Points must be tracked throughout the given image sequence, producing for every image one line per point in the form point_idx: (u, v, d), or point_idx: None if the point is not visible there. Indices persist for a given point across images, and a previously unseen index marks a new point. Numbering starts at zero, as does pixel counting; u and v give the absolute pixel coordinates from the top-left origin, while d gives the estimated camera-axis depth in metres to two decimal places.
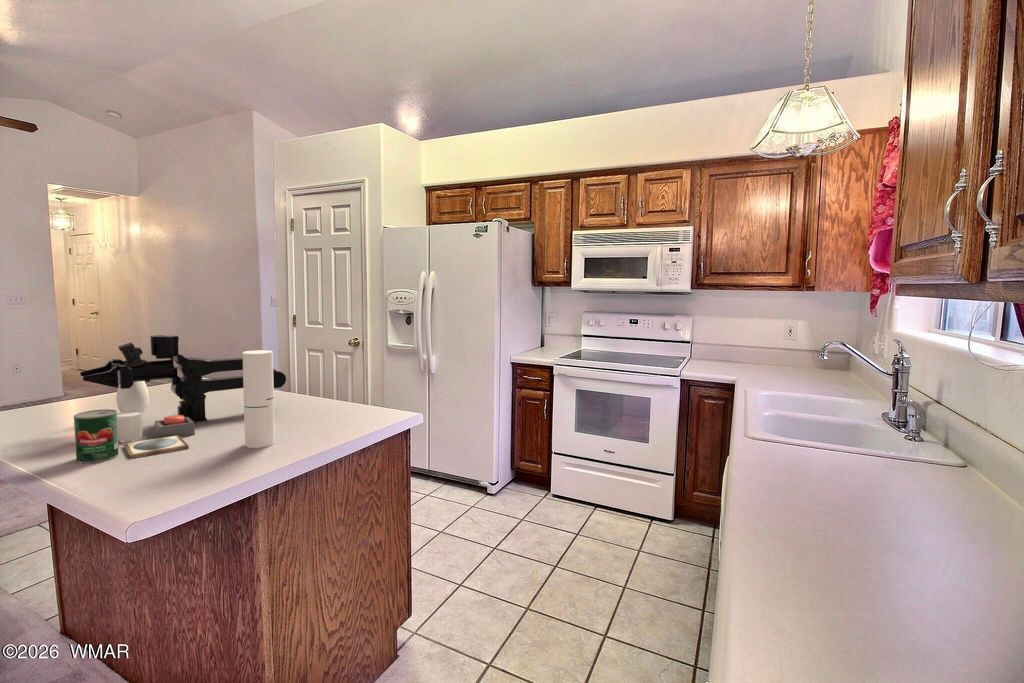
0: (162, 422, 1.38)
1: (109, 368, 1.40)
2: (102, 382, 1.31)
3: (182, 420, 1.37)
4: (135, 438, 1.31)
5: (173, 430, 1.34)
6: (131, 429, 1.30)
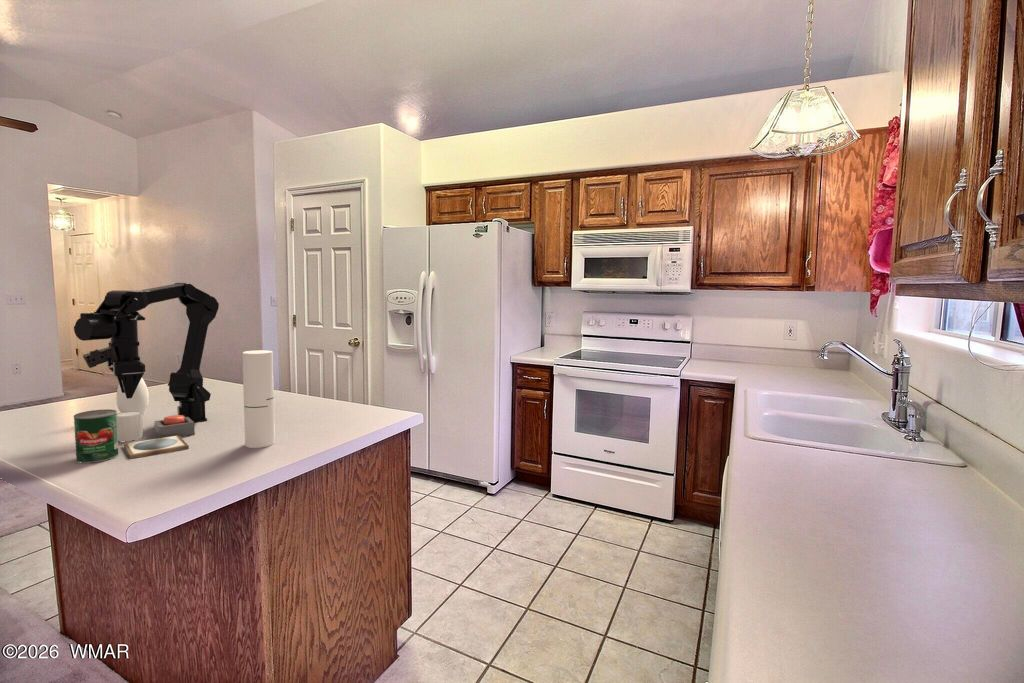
0: (162, 422, 1.38)
1: None
2: (135, 384, 1.27)
3: (182, 420, 1.37)
4: (135, 438, 1.31)
5: (173, 430, 1.34)
6: (131, 429, 1.30)
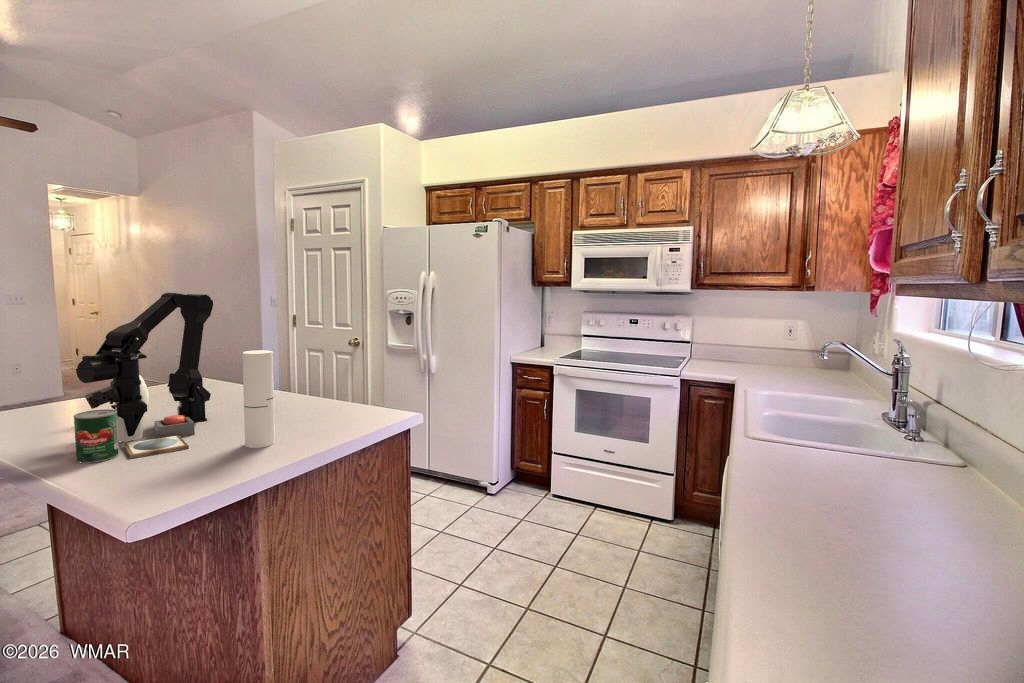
0: (162, 422, 1.38)
1: None
2: (136, 422, 1.29)
3: (182, 420, 1.37)
4: (135, 438, 1.31)
5: (173, 430, 1.34)
6: None
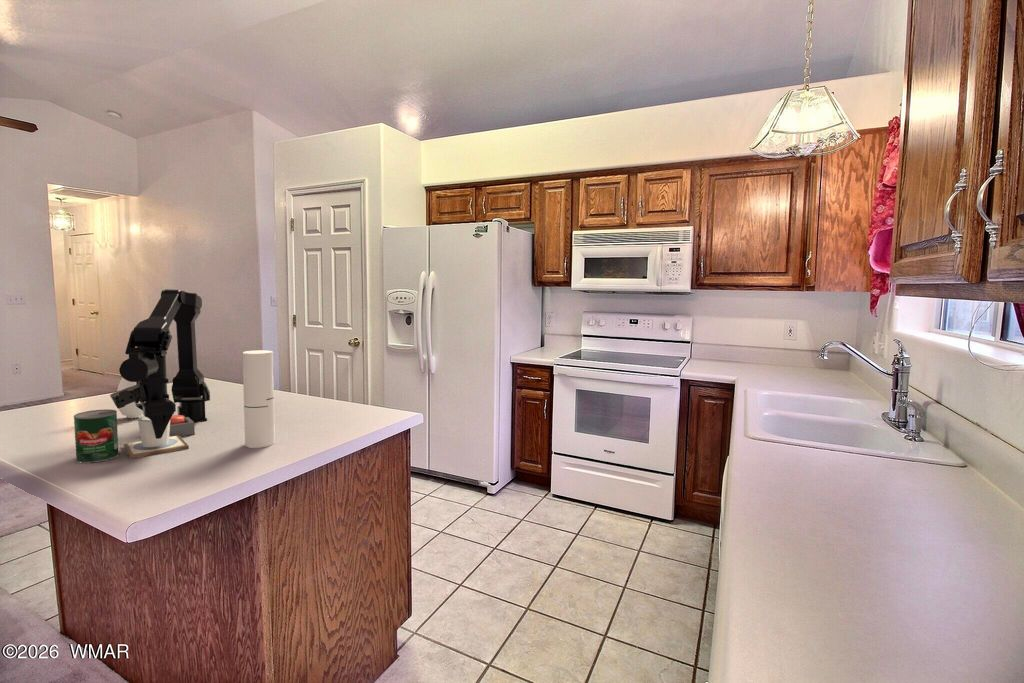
0: None
1: None
2: (165, 423, 1.22)
3: (182, 420, 1.37)
4: (162, 443, 1.25)
5: (173, 430, 1.34)
6: None
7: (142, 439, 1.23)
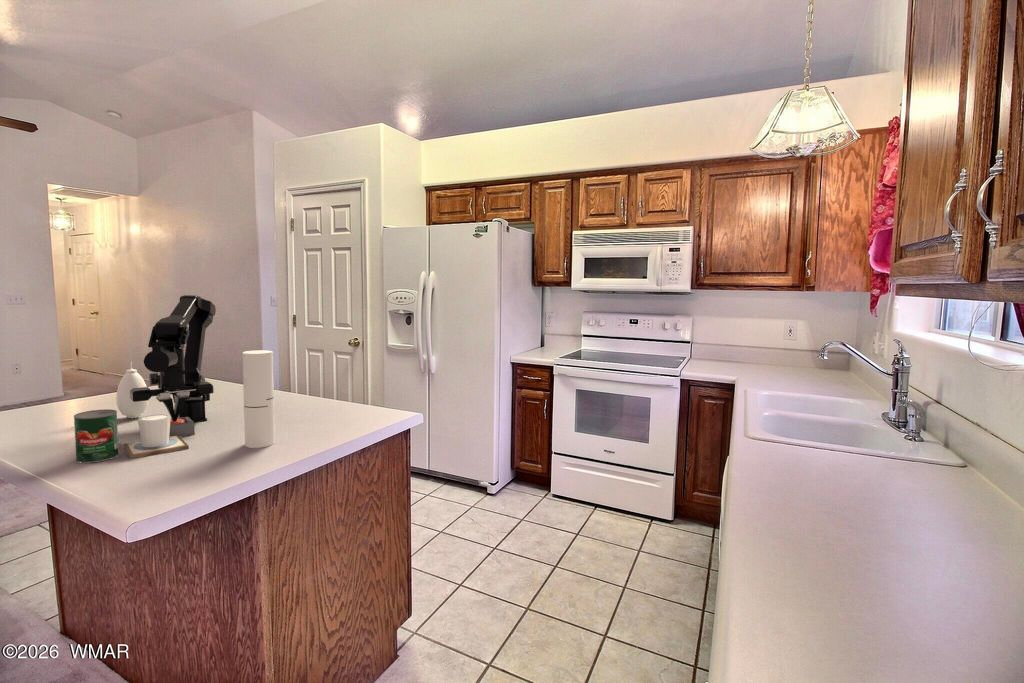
0: None
1: (175, 398, 1.38)
2: (168, 409, 1.35)
3: None
4: (162, 443, 1.25)
5: (173, 430, 1.34)
6: (157, 433, 1.24)
7: (142, 439, 1.23)
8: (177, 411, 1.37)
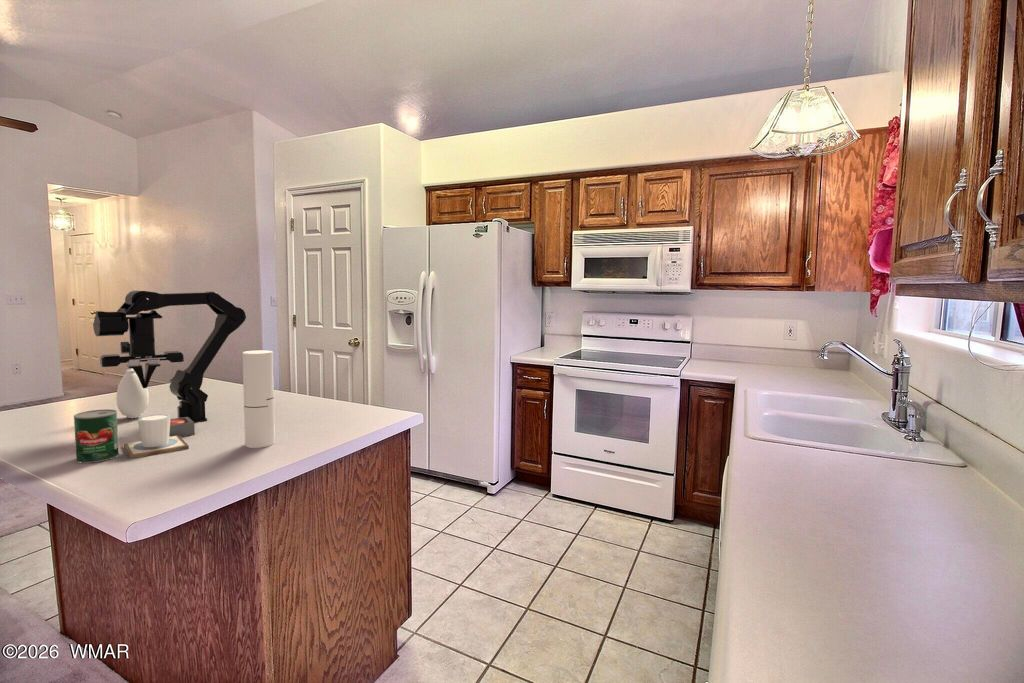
0: None
1: (146, 365, 1.41)
2: (138, 376, 1.39)
3: None
4: (162, 443, 1.25)
5: (173, 430, 1.34)
6: (157, 433, 1.24)
7: (142, 439, 1.23)
8: (147, 378, 1.40)
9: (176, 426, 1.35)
